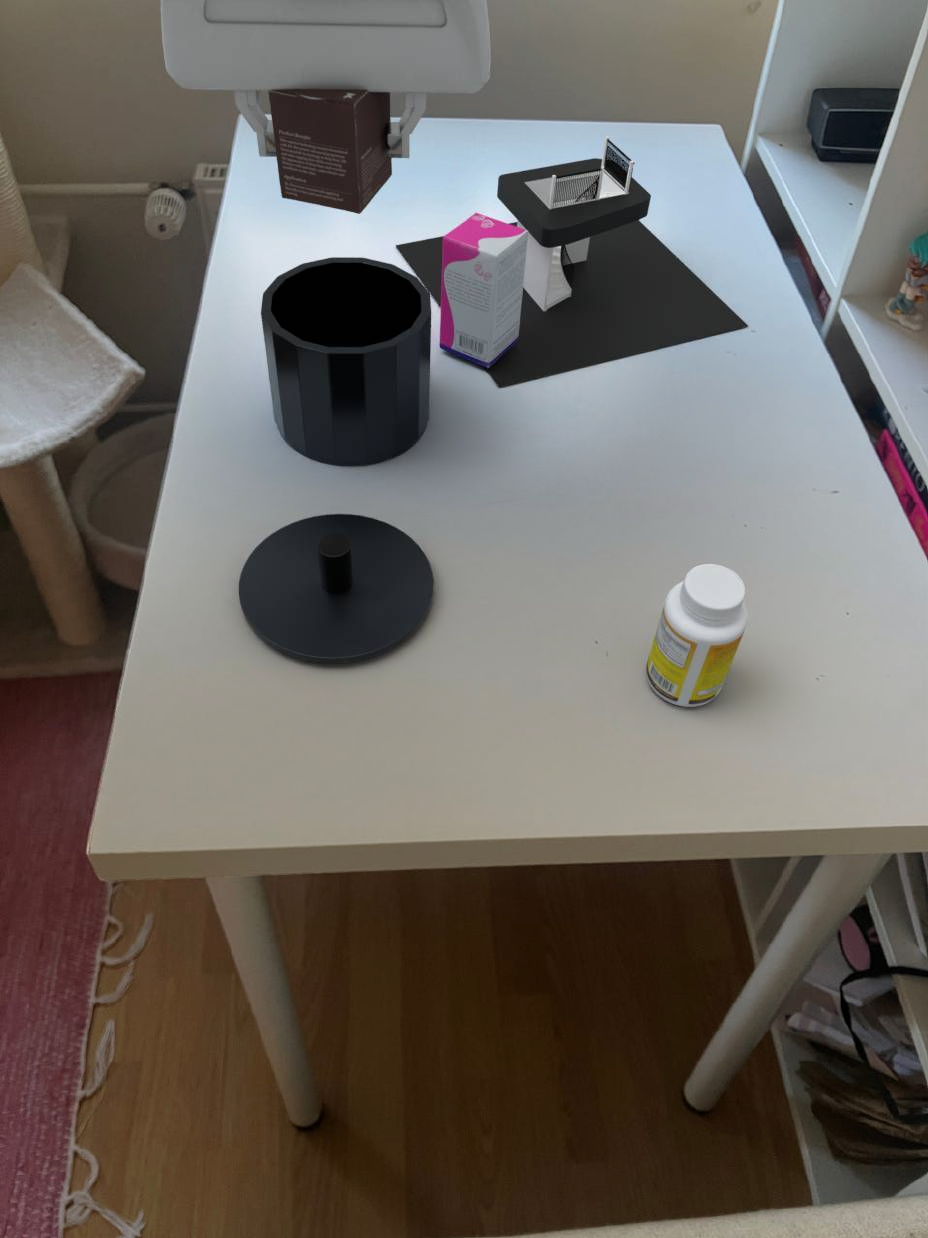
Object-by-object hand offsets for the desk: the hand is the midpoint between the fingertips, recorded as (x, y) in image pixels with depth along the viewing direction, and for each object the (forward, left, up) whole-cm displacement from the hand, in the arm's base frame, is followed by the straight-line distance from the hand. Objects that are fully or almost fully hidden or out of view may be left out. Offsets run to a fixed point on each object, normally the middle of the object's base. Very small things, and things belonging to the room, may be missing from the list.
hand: (336, 153), depth 68 cm
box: (0, 0, -3) cm, 3 cm away
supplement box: (+12, +14, -25) cm, 31 cm away
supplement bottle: (+24, -26, -26) cm, 44 cm away
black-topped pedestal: (+22, +25, -26) cm, 42 cm away
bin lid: (-1, -17, -25) cm, 30 cm away
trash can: (0, +4, -26) cm, 26 cm away
